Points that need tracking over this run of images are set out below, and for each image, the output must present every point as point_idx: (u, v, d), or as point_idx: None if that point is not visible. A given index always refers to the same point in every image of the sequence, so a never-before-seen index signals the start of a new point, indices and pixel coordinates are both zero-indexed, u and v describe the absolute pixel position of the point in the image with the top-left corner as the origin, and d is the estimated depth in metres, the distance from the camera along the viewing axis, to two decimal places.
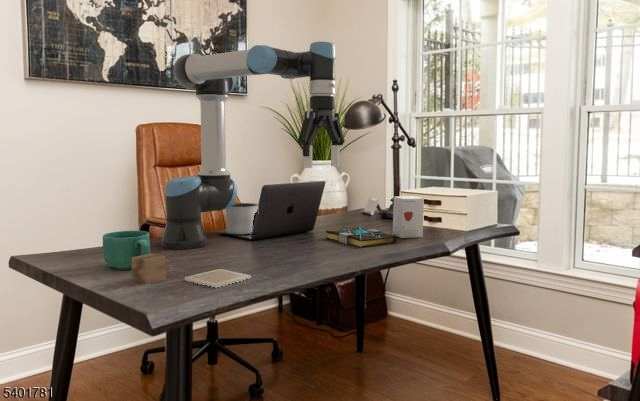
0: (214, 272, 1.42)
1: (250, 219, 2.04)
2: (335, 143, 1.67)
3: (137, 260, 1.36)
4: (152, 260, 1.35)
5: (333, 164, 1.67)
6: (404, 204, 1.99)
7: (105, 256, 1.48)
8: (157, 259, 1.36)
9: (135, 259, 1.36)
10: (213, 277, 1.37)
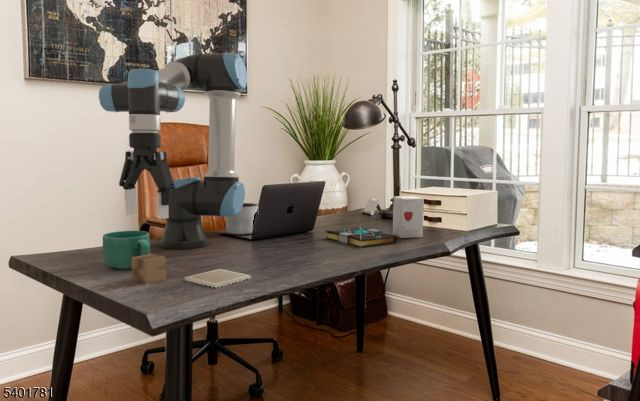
0: (214, 272, 1.42)
1: (250, 219, 2.04)
2: None
3: (137, 260, 1.36)
4: (152, 260, 1.35)
5: None
6: (404, 204, 1.99)
7: (105, 256, 1.48)
8: (157, 259, 1.37)
9: (135, 259, 1.36)
10: (213, 277, 1.37)
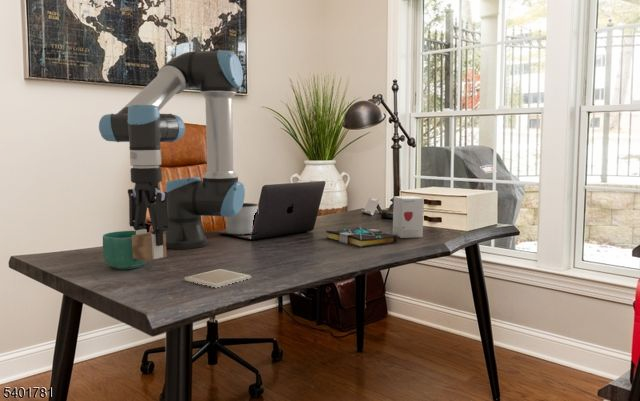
0: (214, 272, 1.42)
1: (250, 219, 2.04)
2: None
3: (137, 238, 1.36)
4: None
5: None
6: (404, 204, 1.99)
7: (105, 256, 1.48)
8: None
9: (135, 237, 1.36)
10: (213, 277, 1.37)
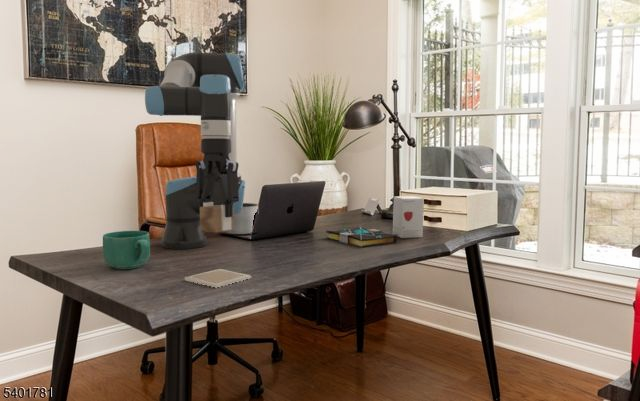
0: (214, 272, 1.42)
1: (250, 219, 2.04)
2: None
3: (206, 209, 1.34)
4: None
5: None
6: (404, 204, 1.99)
7: (105, 256, 1.48)
8: None
9: (204, 208, 1.35)
10: (213, 277, 1.37)
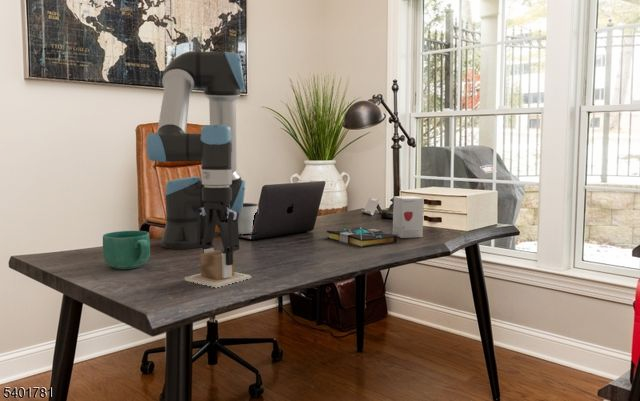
0: None
1: (250, 219, 2.04)
2: None
3: (207, 256, 1.36)
4: None
5: None
6: (404, 204, 1.99)
7: (105, 256, 1.48)
8: None
9: (204, 255, 1.36)
10: None
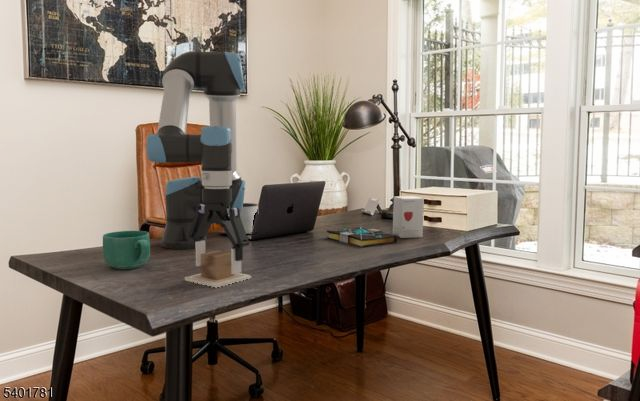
0: None
1: (250, 219, 2.04)
2: None
3: (207, 256, 1.36)
4: (222, 256, 1.35)
5: None
6: (404, 204, 1.99)
7: (105, 256, 1.48)
8: (226, 255, 1.36)
9: (205, 255, 1.36)
10: None
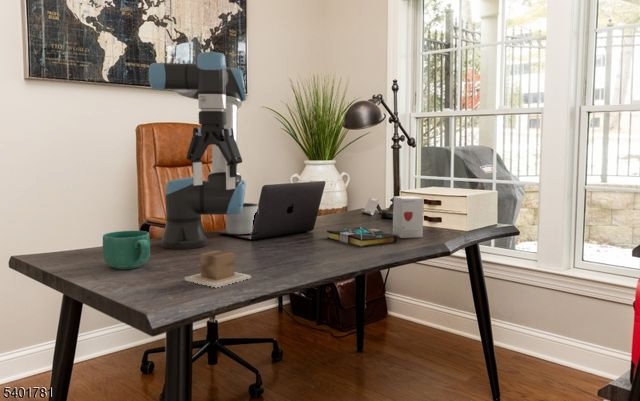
0: None
1: (250, 219, 2.04)
2: None
3: (207, 256, 1.36)
4: (222, 256, 1.35)
5: None
6: (404, 204, 1.99)
7: (105, 256, 1.48)
8: (226, 255, 1.36)
9: (205, 255, 1.36)
10: None
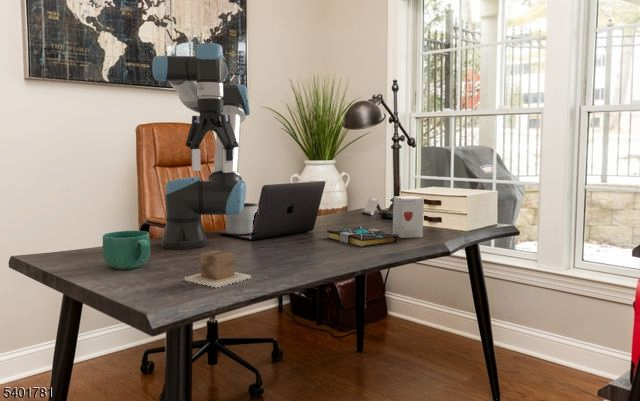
0: None
1: (250, 219, 2.04)
2: None
3: (207, 256, 1.36)
4: (222, 256, 1.35)
5: None
6: (404, 204, 1.99)
7: (105, 256, 1.48)
8: (226, 255, 1.36)
9: (205, 255, 1.36)
10: None
